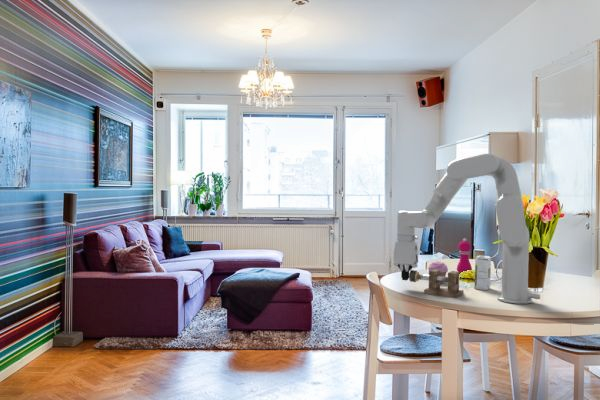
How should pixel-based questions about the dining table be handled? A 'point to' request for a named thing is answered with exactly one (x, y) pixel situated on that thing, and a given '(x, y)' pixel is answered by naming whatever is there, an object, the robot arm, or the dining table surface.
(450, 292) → the bracket
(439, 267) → the cupcake
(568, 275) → the dining table surface
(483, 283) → the silver can
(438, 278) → the shaft
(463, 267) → the pepper mill
